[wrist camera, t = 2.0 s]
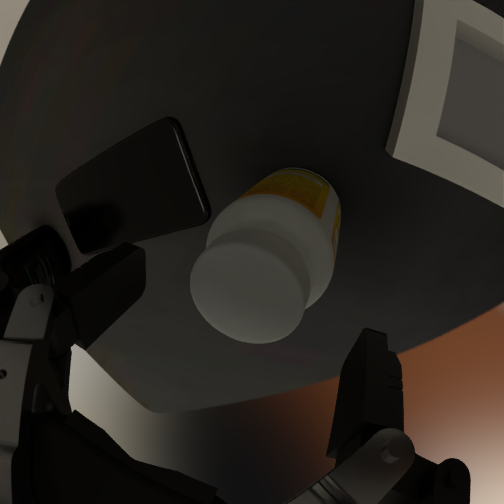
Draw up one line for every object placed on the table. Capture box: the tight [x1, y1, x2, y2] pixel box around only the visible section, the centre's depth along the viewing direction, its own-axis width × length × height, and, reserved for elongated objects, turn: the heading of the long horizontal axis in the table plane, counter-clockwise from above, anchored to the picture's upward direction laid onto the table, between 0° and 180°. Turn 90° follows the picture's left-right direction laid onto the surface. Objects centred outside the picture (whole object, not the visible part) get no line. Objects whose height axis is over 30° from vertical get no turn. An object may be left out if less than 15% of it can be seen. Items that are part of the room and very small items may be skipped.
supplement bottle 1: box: [0, 226, 70, 290], centre depth 23 cm, size 7×7×12 cm
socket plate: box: [385, 0, 504, 208], centre depth 10 cm, size 10×10×3 cm
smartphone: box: [55, 117, 211, 255], centre depth 22 cm, size 8×1×16 cm
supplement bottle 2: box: [190, 168, 341, 343], centre depth 14 cm, size 5×5×10 cm
